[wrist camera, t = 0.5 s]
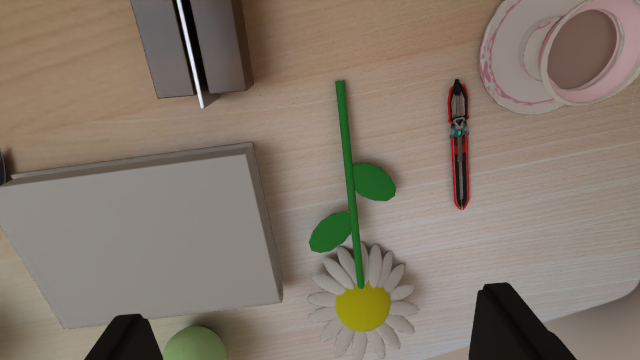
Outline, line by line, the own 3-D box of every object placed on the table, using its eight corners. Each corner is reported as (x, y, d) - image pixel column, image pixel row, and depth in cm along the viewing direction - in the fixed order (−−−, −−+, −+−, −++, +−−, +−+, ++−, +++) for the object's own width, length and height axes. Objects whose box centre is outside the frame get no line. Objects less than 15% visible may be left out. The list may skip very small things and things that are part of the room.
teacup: (487, 131, 32) (526, 150, 27) (467, 2, 28) (508, -7, 22) (612, 87, 31) (680, 98, 25) (613, -56, 26) (696, -81, 21)
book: (-22, 189, 29) (245, 154, 28) (14, 173, 32) (252, 141, 32) (68, 337, 36) (281, 310, 36) (89, 310, 40) (284, 286, 39)
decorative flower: (272, 89, 32) (312, 339, 40) (268, 90, 28) (314, 371, 36) (398, 73, 33) (412, 323, 41) (416, 70, 28) (427, 353, 36)
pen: (451, 210, 36) (454, 213, 35) (444, 81, 30) (447, 81, 30) (469, 207, 36) (472, 209, 35) (466, 76, 30) (469, 77, 29)
